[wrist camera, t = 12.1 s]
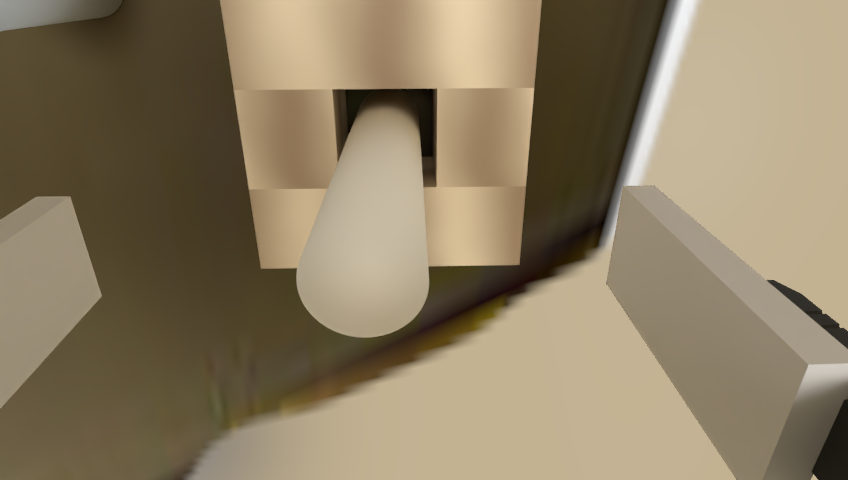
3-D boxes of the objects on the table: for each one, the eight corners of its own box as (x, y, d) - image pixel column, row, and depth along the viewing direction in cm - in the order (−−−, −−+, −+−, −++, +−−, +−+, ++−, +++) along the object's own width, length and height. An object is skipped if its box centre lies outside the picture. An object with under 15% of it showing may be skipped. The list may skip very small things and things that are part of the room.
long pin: (359, 147, 27) (303, 338, 13) (356, 87, 26) (289, 223, 12) (419, 147, 27) (429, 336, 13) (418, 86, 26) (429, 221, 12)
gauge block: (281, 228, 29) (261, 268, 25) (249, -20, 24) (217, -19, 20) (503, 225, 29) (519, 265, 25) (520, -21, 24) (543, -20, 20)
